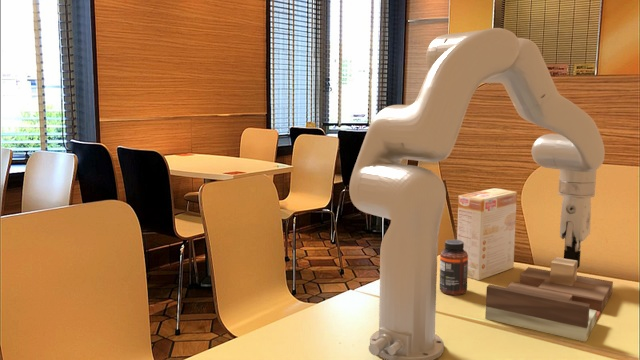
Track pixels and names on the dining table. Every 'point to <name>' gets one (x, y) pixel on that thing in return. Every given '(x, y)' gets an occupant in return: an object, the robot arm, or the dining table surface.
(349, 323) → the dining table surface
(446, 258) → the supplement bottle
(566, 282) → the maple block
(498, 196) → the coffeecake box
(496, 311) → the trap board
